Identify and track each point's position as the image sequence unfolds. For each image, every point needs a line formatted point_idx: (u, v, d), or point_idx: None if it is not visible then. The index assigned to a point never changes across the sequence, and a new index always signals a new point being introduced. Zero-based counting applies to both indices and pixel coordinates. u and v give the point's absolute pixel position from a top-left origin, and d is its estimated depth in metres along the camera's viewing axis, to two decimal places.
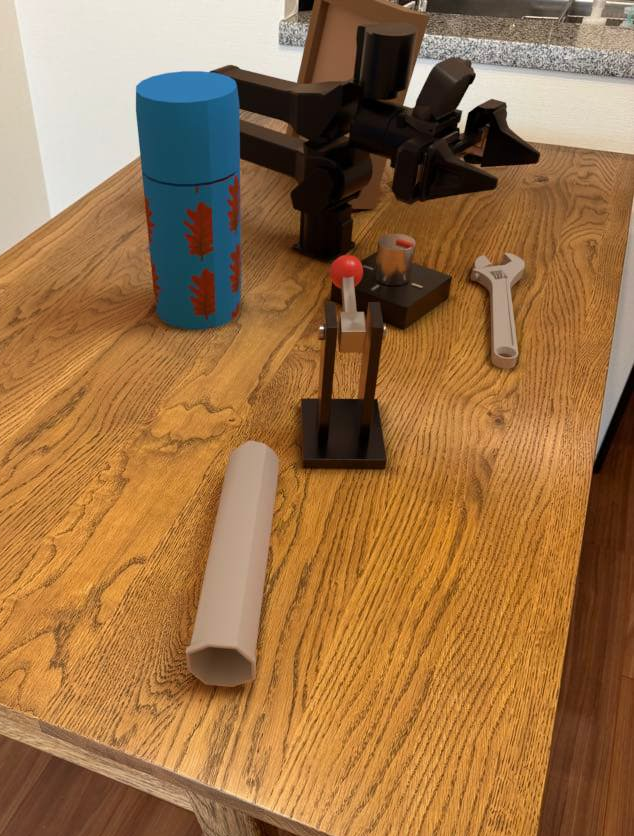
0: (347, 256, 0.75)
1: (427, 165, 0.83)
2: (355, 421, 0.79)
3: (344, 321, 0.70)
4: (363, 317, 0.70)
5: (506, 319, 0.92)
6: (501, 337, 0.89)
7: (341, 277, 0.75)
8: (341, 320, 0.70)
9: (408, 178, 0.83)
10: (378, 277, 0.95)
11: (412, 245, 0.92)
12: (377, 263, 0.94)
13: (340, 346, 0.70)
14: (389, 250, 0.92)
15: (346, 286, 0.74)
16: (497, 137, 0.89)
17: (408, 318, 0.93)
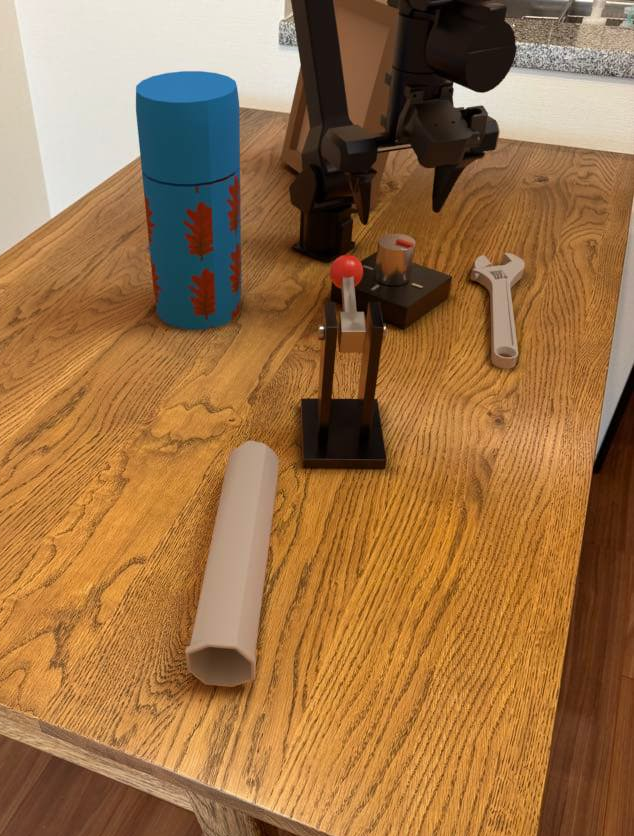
0: (347, 256, 0.75)
1: (345, 171, 0.84)
2: (355, 421, 0.79)
3: (344, 321, 0.70)
4: (363, 317, 0.70)
5: (506, 319, 0.92)
6: (501, 337, 0.89)
7: (341, 277, 0.75)
8: (341, 320, 0.70)
9: (329, 157, 0.83)
10: (378, 277, 0.95)
11: (412, 245, 0.92)
12: (377, 263, 0.94)
13: (340, 346, 0.70)
14: (389, 250, 0.92)
15: (346, 286, 0.74)
16: (449, 163, 0.87)
17: (408, 318, 0.93)
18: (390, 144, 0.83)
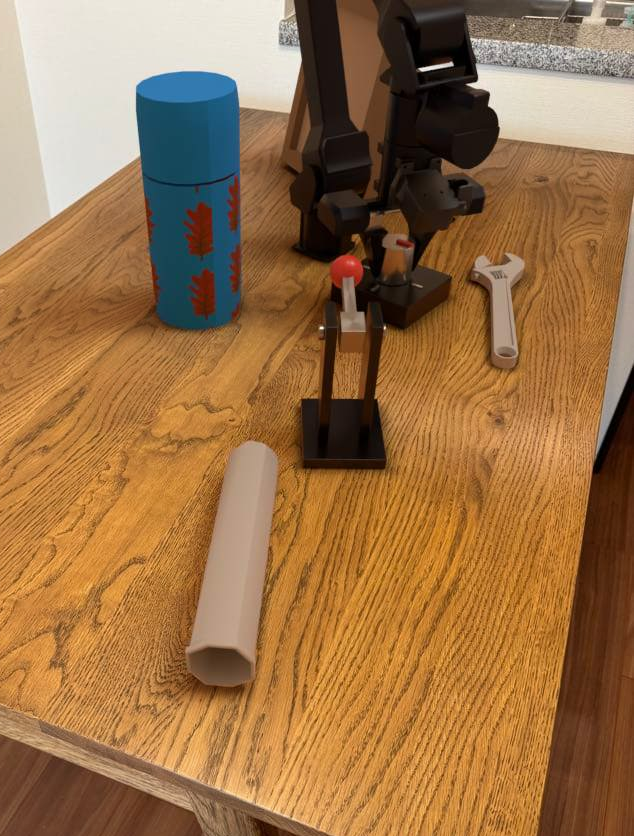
0: (347, 256, 0.75)
1: None
2: (355, 421, 0.79)
3: (344, 321, 0.70)
4: (363, 317, 0.70)
5: (506, 319, 0.92)
6: (501, 337, 0.89)
7: (341, 277, 0.75)
8: (341, 320, 0.70)
9: (325, 221, 0.88)
10: (378, 277, 0.95)
11: (412, 245, 0.92)
12: None
13: (340, 346, 0.70)
14: (389, 250, 0.92)
15: (346, 286, 0.74)
16: None
17: (408, 318, 0.93)
18: None
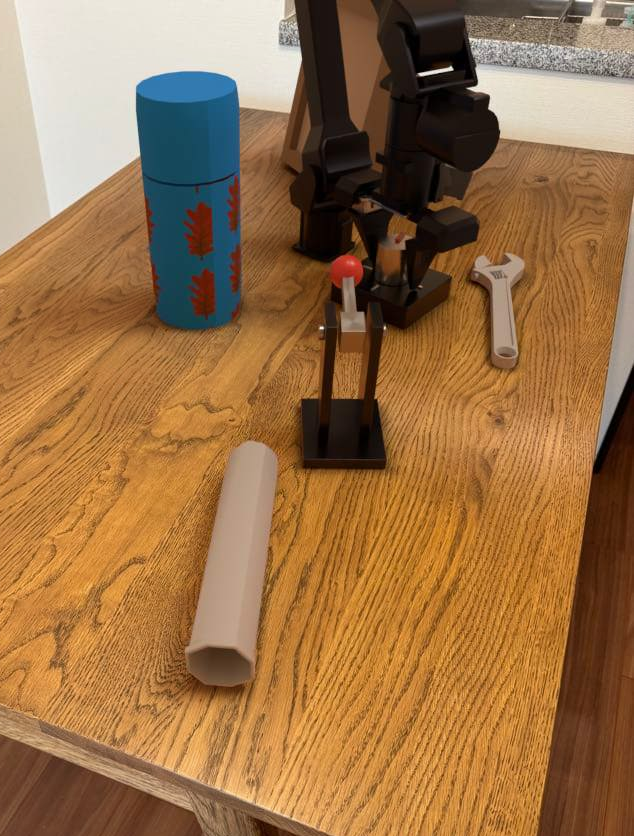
0: (347, 256, 0.75)
1: None
2: (355, 421, 0.79)
3: (344, 321, 0.70)
4: (363, 317, 0.70)
5: (506, 319, 0.92)
6: (501, 337, 0.89)
7: (341, 277, 0.75)
8: (341, 320, 0.70)
9: (459, 242, 0.84)
10: (407, 278, 0.95)
11: None
12: (405, 268, 0.93)
13: (340, 346, 0.70)
14: None
15: (346, 286, 0.74)
16: (384, 221, 0.94)
17: (408, 318, 0.93)
18: None
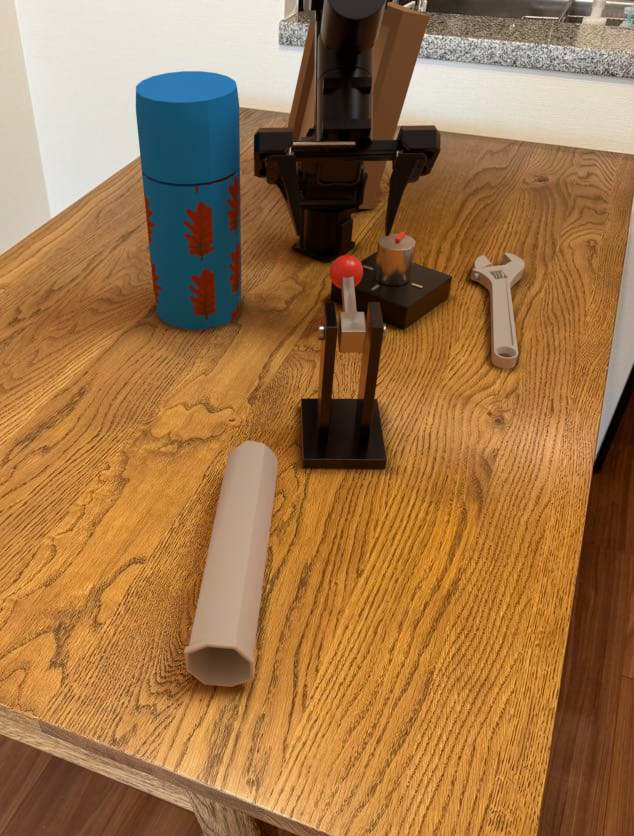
0: (347, 256, 0.75)
1: (419, 174, 0.82)
2: (355, 421, 0.79)
3: (344, 321, 0.70)
4: (363, 317, 0.70)
5: (506, 319, 0.92)
6: (501, 337, 0.89)
7: (341, 277, 0.75)
8: (341, 320, 0.70)
9: None
10: (407, 278, 0.95)
11: None
12: (405, 268, 0.93)
13: (340, 346, 0.70)
14: None
15: (346, 286, 0.74)
16: None
17: (408, 318, 0.93)
18: None
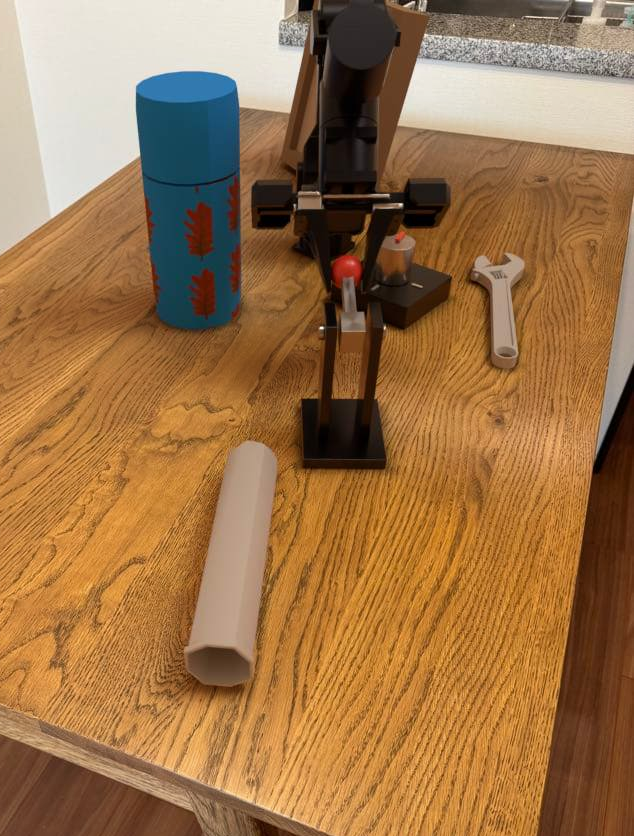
0: (347, 256, 0.75)
1: None
2: (355, 421, 0.79)
3: (344, 321, 0.70)
4: (363, 317, 0.70)
5: (506, 319, 0.92)
6: (501, 337, 0.89)
7: (341, 277, 0.75)
8: (341, 320, 0.70)
9: None
10: (407, 278, 0.95)
11: None
12: (405, 268, 0.93)
13: (340, 346, 0.70)
14: None
15: (346, 286, 0.74)
16: None
17: (408, 318, 0.93)
18: None
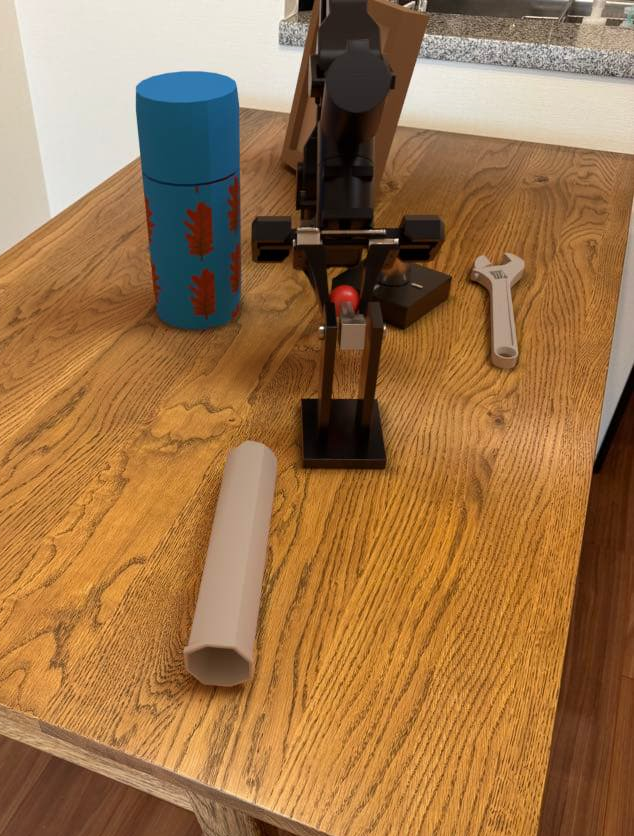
0: (344, 285, 0.77)
1: None
2: (355, 421, 0.79)
3: (344, 319, 0.70)
4: (362, 317, 0.70)
5: (506, 319, 0.92)
6: (501, 337, 0.89)
7: (339, 302, 0.77)
8: (341, 318, 0.70)
9: None
10: (407, 278, 0.95)
11: None
12: (405, 268, 0.93)
13: (341, 342, 0.70)
14: None
15: (344, 306, 0.75)
16: None
17: (408, 318, 0.93)
18: None
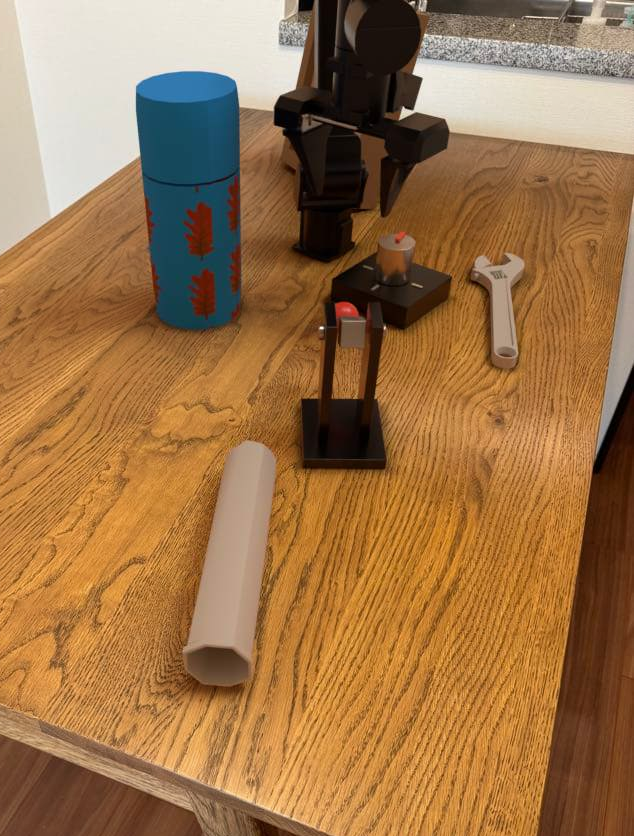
0: (343, 302, 0.78)
1: None
2: (355, 421, 0.79)
3: (344, 318, 0.70)
4: (362, 317, 0.71)
5: (506, 319, 0.92)
6: (501, 337, 0.89)
7: (338, 315, 0.77)
8: (340, 318, 0.70)
9: (433, 150, 0.77)
10: (407, 278, 0.95)
11: None
12: (405, 268, 0.93)
13: (341, 340, 0.70)
14: None
15: None
16: (322, 140, 0.86)
17: (408, 318, 0.93)
18: None
